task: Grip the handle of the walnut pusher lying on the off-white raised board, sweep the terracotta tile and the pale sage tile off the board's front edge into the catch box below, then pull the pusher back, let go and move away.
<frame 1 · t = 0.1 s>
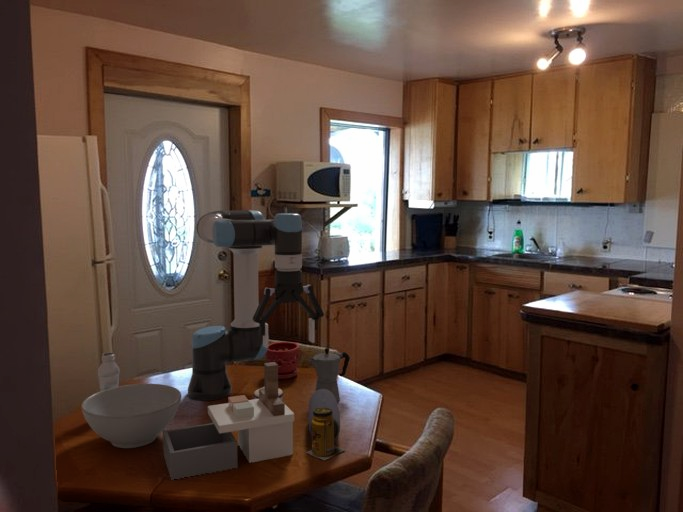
hand: (289, 344, 161), 28 cm above the table, tool pointing down, fingers open, 13 cm apart
catch box: (198, 461, 151), on the table
decorative bowl: (134, 439, 165), on the table
bluetooth speaker: (323, 433, 170), on the table, touching condiment
coffeepot: (329, 399, 198), on the table
terracotta tile: (238, 407, 157), point 12 cm above the table, touching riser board
walnut pusher: (271, 406, 158), point 12 cm above the table, touching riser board
plastic bottle: (110, 416, 183), on the table
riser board: (247, 453, 156), on the table
teacup with lid: (270, 419, 180), on the table
sage tile: (243, 414, 152), point 12 cm above the table, touching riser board
condiment: (325, 452, 157), on the table, touching bluetooth speaker
plant pot: (282, 376, 224), on the table
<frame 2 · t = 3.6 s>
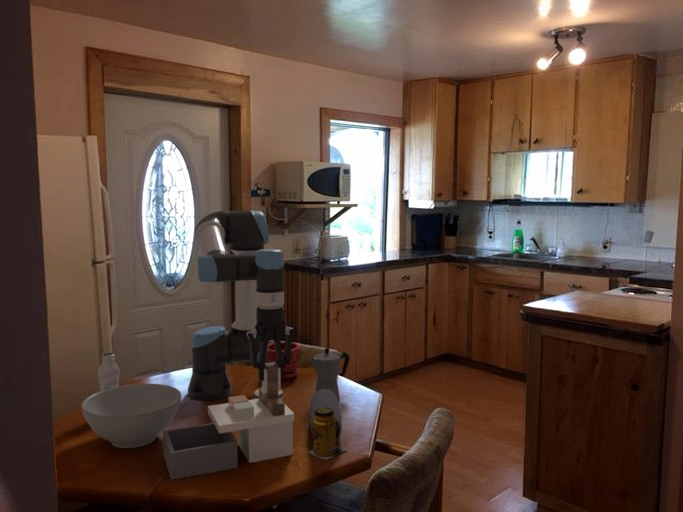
hand: (271, 390, 157), 17 cm above the table, tool pointing down, fingers closed on walnut pusher, 3 cm apart
walnut pusher: (271, 406, 158), point 12 cm above the table, touching gripper, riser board
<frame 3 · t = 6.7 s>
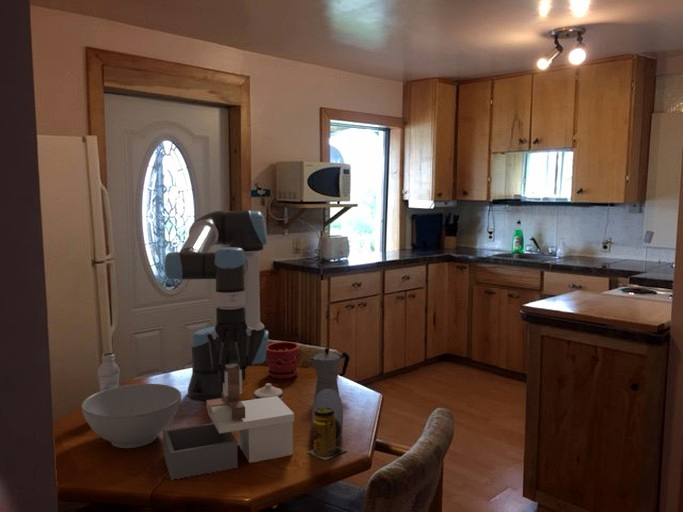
hand: (232, 393, 153), 17 cm above the table, tool pointing down, fingers closed on walnut pusher, 3 cm apart
terracotta tile: (216, 410, 155), point 12 cm above the table, touching walnut pusher
walnut pusher: (233, 409, 153), point 13 cm above the table, touching gripper, sage tile, terracotta tile
sage tile: (221, 418, 149), point 12 cm above the table, touching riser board, walnut pusher
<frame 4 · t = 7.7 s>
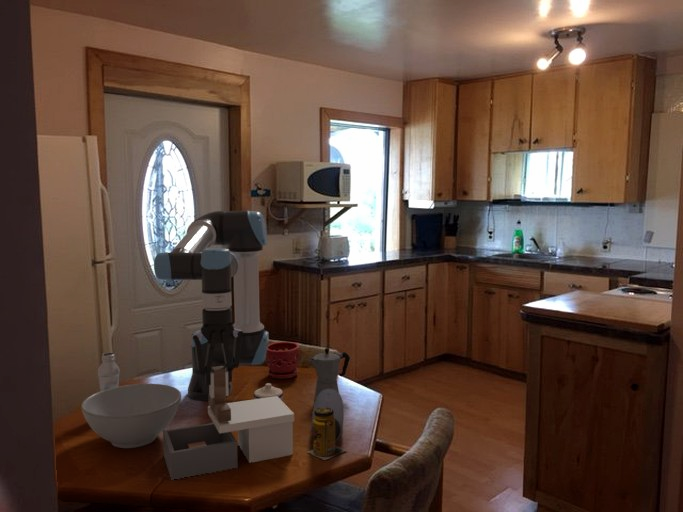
hand: (218, 395, 151), 17 cm above the table, tool pointing down, fingers closed on walnut pusher, 3 cm apart
terracotta tile: (197, 445, 153), point 3 cm above the table, tilted 180°, touching catch box
walnut pusher: (219, 412, 152), point 13 cm above the table, touching gripper
sage tile: (202, 454, 148), point 3 cm above the table, tilted 180°, touching catch box
when the fingers open (17 cm above the table, at t = 10.2 s): walnut pusher stays where it is, resting on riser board.
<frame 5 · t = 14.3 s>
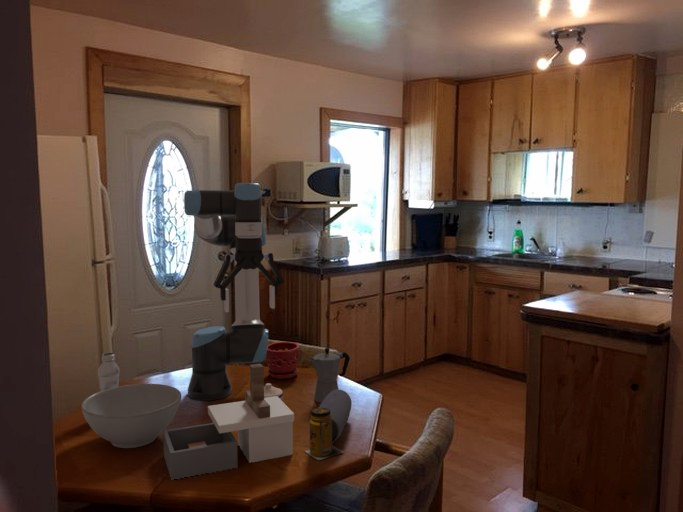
hand: (249, 309, 167), 37 cm above the table, tool pointing down, fingers open, 13 cm apart
bluetooth speaker: (332, 433, 169), on the table, touching condiment
walnut pusher: (257, 408, 156), point 12 cm above the table, touching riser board
condiment: (324, 453, 156), on the table, touching bluetooth speaker
everything else where it was.
at the end: terracotta tile inside the target area (3.0 cm from its centre), point 3.1 cm above the table; sage tile inside the target area (2.9 cm from its centre), point 3.1 cm above the table; walnut pusher point 12.0 cm above the table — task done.
